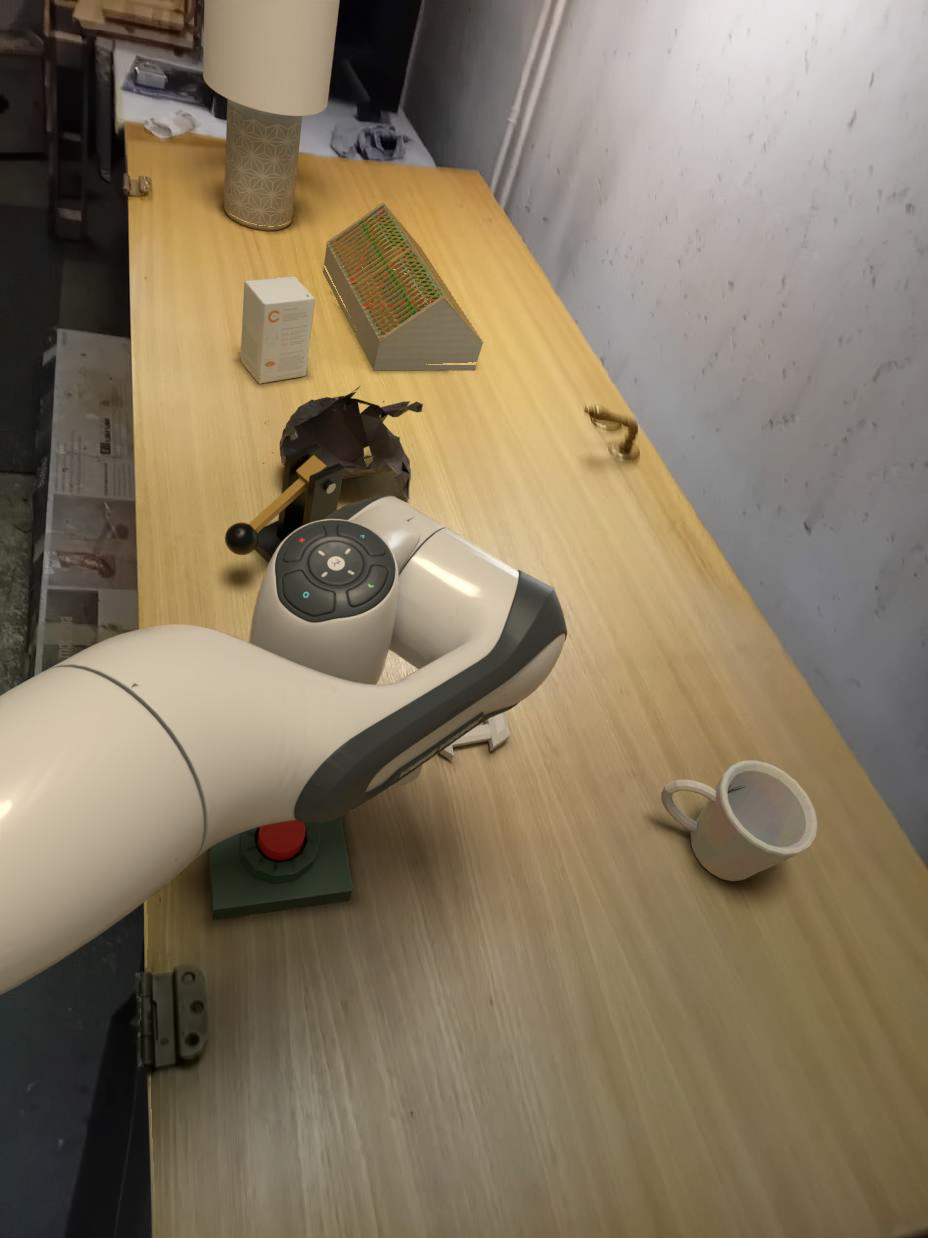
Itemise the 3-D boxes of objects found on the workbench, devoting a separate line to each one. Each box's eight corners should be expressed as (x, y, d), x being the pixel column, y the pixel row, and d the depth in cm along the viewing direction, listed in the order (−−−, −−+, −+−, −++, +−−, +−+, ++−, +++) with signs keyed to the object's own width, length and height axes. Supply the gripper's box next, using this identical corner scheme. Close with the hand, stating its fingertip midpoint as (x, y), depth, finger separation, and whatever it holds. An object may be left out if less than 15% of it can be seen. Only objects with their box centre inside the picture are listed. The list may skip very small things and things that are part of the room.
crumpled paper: (393, 440, 119) (254, 447, 112) (412, 359, 108) (257, 360, 100) (419, 513, 112) (272, 524, 105) (441, 434, 101) (278, 441, 94)
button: (259, 863, 71) (261, 855, 70) (255, 821, 73) (257, 812, 72) (305, 858, 72) (308, 849, 71) (300, 816, 75) (302, 807, 74)
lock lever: (245, 566, 92) (234, 552, 88) (225, 547, 93) (213, 532, 89) (336, 482, 94) (329, 466, 91) (315, 464, 96) (308, 447, 92)
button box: (212, 920, 71) (213, 902, 68) (206, 814, 76) (207, 793, 74) (349, 900, 75) (356, 882, 72) (334, 801, 81) (339, 781, 78)
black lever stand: (295, 586, 97) (308, 500, 87) (246, 541, 100) (253, 452, 90) (356, 553, 104) (374, 469, 94) (308, 511, 106) (322, 425, 96)
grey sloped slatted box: (478, 370, 139) (500, 298, 129) (373, 370, 131) (389, 294, 121) (418, 276, 155) (434, 206, 146) (322, 271, 147) (332, 197, 138)
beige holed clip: (413, 610, 95) (494, 614, 98) (406, 627, 97) (485, 631, 100) (433, 750, 84) (523, 750, 87) (425, 766, 87) (512, 765, 90)
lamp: (316, 250, 152) (350, -21, 121) (200, 231, 145) (204, -59, 115) (309, 199, 164) (338, -57, 134) (201, 180, 158) (206, -94, 128)
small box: (286, 353, 128) (295, 274, 118) (306, 376, 125) (316, 298, 116) (238, 360, 124) (243, 279, 114) (257, 385, 121) (264, 303, 111)
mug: (766, 910, 85) (821, 870, 78) (633, 858, 85) (675, 813, 78) (767, 824, 92) (816, 780, 85) (644, 777, 92) (683, 729, 85)
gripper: (433, 672, 64) (398, 762, 74) (154, 685, 57) (157, 782, 67) (451, 741, 60) (412, 826, 70) (155, 764, 53) (159, 855, 63)
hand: (286, 805), depth 69 cm, fingers closed
